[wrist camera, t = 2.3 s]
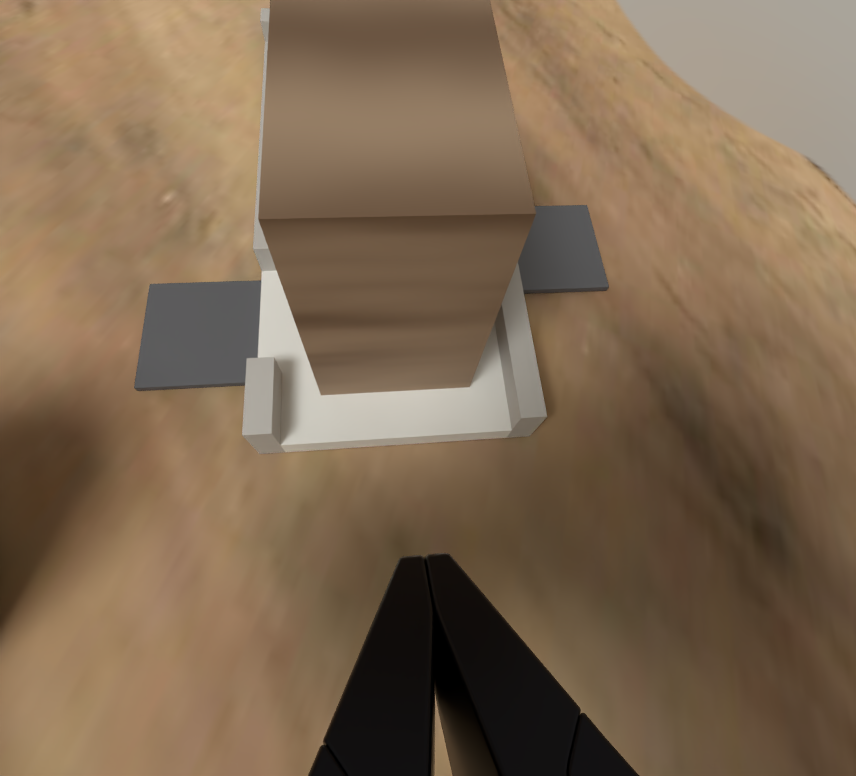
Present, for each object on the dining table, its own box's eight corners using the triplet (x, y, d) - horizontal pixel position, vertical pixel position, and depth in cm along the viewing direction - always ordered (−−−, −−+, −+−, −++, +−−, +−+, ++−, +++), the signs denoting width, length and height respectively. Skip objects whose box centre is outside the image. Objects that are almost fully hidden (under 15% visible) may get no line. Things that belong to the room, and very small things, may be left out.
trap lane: (642, 428, 21) (688, 399, 18) (127, 462, 19) (72, 436, 16) (549, 78, 29) (569, 14, 26) (184, 75, 27) (156, 6, 24)
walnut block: (469, 387, 20) (536, 213, 11) (321, 395, 19) (258, 219, 10) (446, 214, 23) (483, -30, 14) (320, 216, 23) (272, -37, 14)
